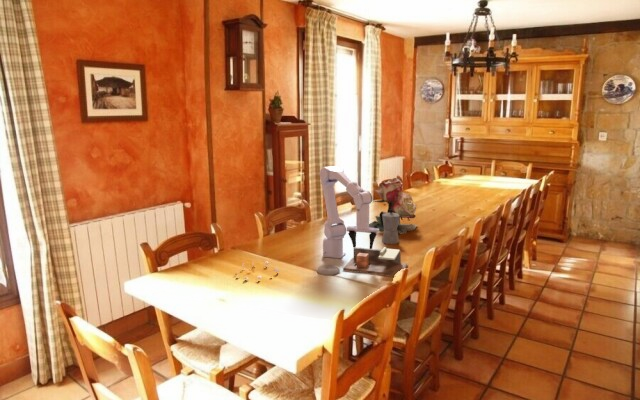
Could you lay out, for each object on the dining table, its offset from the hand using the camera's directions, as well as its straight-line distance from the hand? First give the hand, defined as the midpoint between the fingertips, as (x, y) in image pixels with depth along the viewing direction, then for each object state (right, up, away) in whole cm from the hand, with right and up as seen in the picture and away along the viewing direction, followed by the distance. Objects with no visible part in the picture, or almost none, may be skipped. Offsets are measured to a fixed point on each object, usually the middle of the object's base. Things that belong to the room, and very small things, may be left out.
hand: (362, 247), depth 207 cm
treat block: (0, -9, +2) cm, 9 cm away
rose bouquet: (+26, +5, +69) cm, 75 cm away
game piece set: (-47, -12, -5) cm, 49 cm away
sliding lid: (+12, -3, -3) cm, 12 cm away
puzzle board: (+6, -9, 0) cm, 11 cm away
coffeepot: (+18, -1, +41) cm, 45 cm away
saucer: (-16, -10, -3) cm, 19 cm away
